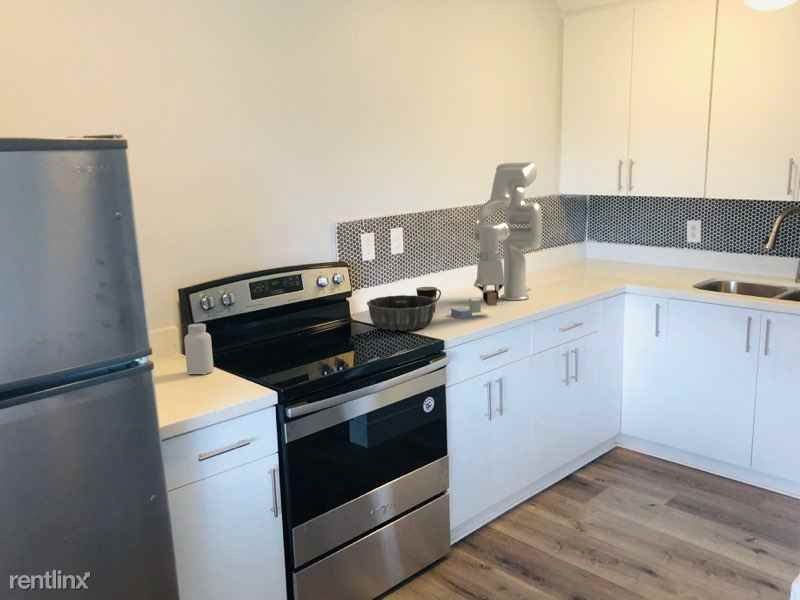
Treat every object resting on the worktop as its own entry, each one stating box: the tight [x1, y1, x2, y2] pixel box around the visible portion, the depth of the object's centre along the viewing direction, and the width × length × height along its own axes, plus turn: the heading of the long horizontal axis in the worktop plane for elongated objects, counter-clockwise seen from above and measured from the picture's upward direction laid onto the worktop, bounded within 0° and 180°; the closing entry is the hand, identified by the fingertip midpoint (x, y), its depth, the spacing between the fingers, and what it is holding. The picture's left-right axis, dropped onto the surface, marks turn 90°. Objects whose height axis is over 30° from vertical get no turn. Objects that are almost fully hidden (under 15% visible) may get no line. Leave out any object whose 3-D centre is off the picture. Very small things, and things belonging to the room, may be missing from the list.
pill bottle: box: [183, 323, 214, 374], centre depth 225 cm, size 8×8×15 cm
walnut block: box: [484, 289, 498, 307], centre depth 293 cm, size 6×4×5 cm, turn 5°
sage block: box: [468, 297, 482, 313], centre depth 303 cm, size 6×4×5 cm, turn 5°
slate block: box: [450, 306, 473, 319], centre depth 295 cm, size 8×5×3 cm, turn 27°
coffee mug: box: [415, 286, 442, 313], centre depth 304 cm, size 12×9×10 cm
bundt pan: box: [366, 294, 437, 332], centre depth 279 cm, size 26×26×10 cm
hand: (490, 300), depth 293 cm, fingers closed on walnut block, 3 cm apart
